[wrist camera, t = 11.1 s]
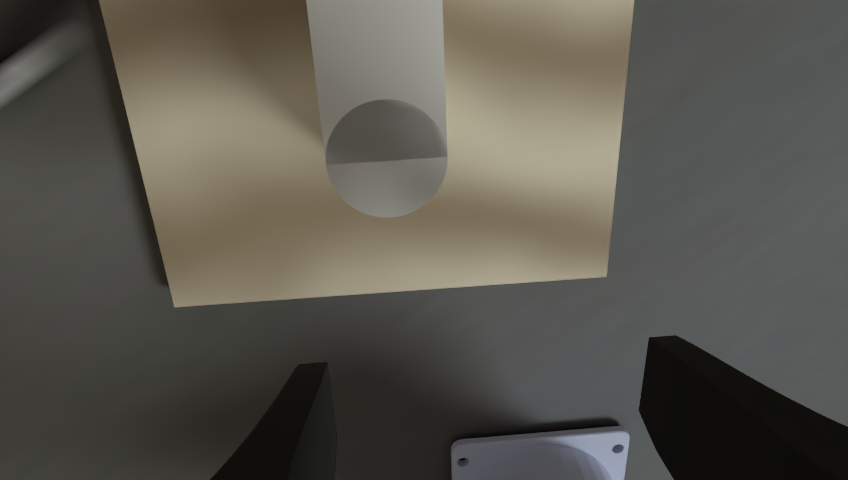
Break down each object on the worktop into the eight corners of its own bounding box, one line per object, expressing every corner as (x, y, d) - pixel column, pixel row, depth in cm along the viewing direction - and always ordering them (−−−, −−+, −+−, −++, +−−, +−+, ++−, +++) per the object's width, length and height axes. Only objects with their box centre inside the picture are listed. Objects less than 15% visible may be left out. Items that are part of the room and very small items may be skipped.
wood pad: (597, 265, 22) (606, 276, 21) (183, 294, 22) (174, 307, 21) (652, -340, 15) (670, -361, 14) (34, -333, 14) (11, -355, 13)
